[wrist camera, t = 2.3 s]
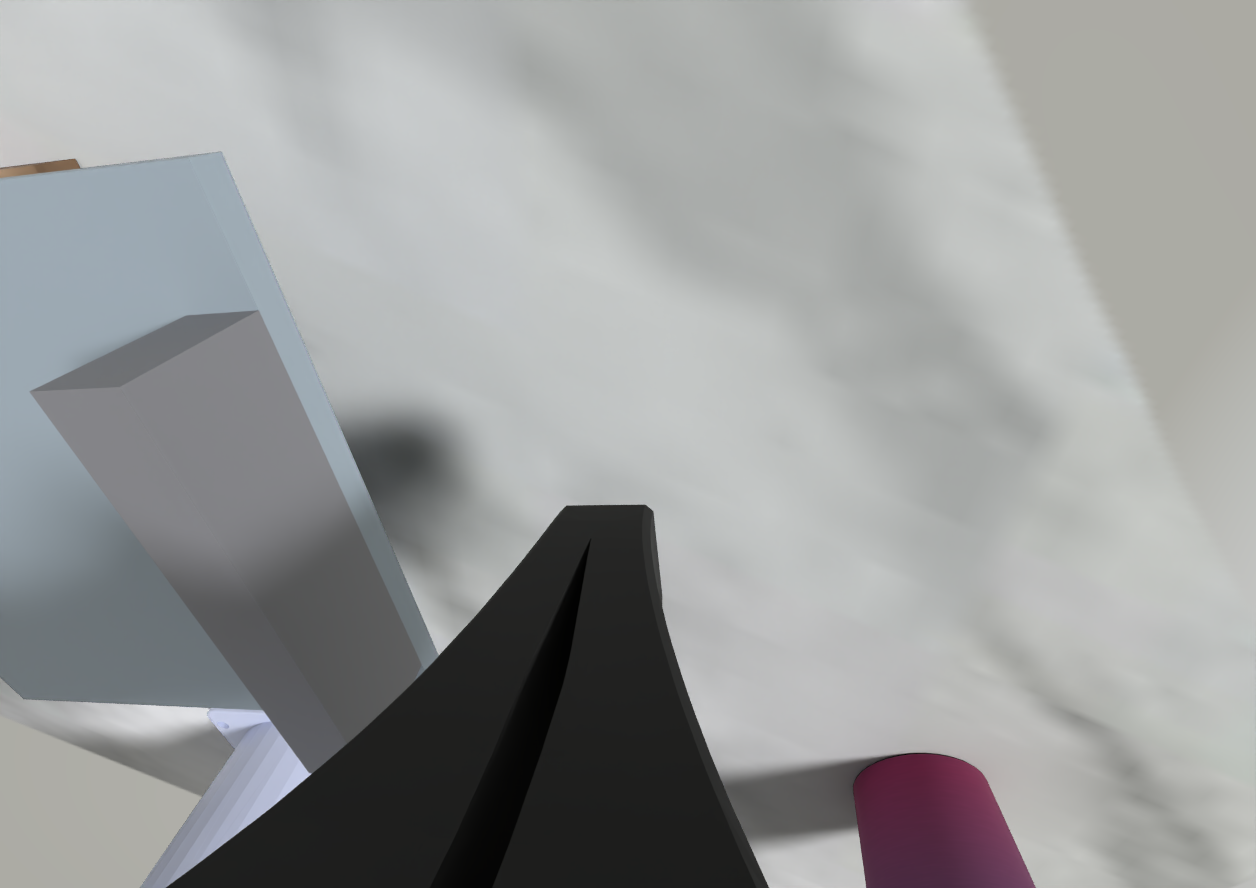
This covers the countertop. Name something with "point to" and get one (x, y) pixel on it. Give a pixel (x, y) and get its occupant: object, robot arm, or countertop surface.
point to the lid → (180, 469)
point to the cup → (933, 827)
